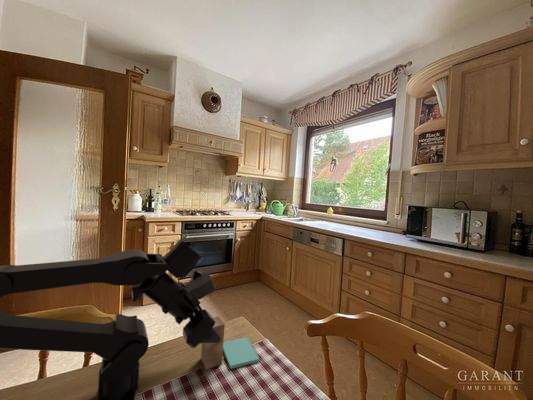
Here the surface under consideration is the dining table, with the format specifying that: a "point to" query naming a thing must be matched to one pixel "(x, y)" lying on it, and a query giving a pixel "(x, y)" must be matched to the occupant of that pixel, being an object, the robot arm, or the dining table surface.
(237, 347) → the mat
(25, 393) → the dining table surface
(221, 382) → the dining table surface
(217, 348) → the walnut block
